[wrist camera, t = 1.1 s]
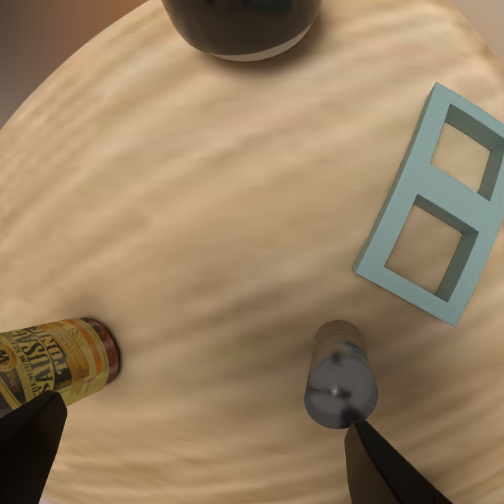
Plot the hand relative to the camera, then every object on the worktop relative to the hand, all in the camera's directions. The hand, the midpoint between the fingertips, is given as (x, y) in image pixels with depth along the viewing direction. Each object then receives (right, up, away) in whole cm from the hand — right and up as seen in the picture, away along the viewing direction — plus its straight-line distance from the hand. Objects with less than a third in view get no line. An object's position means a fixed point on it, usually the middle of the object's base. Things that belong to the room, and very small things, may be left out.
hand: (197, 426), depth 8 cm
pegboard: (+14, +8, +10) cm, 18 cm away
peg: (+7, -1, +11) cm, 13 cm away
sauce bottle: (-12, -3, +16) cm, 20 cm away
